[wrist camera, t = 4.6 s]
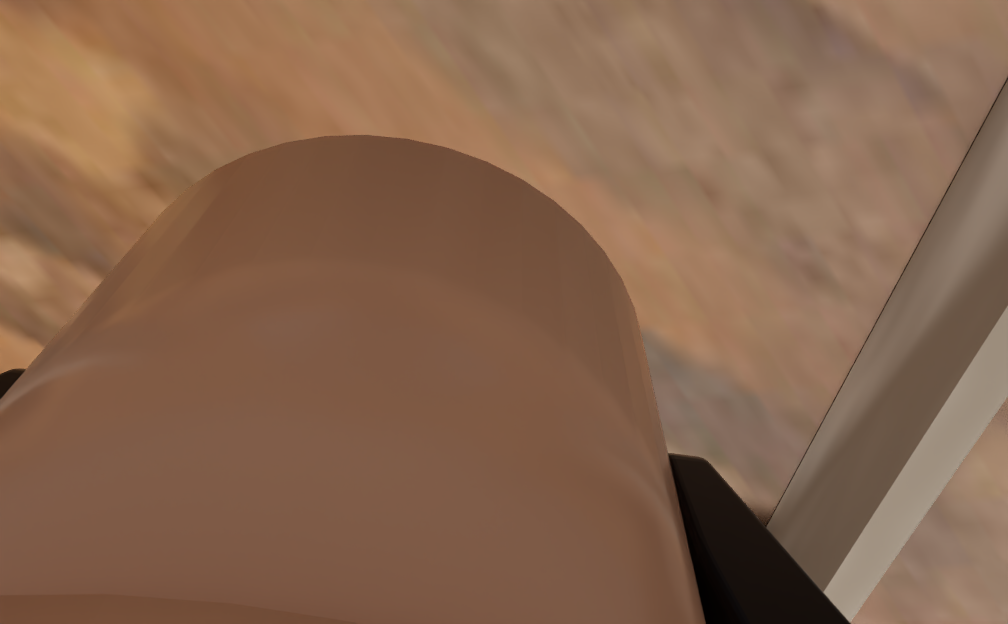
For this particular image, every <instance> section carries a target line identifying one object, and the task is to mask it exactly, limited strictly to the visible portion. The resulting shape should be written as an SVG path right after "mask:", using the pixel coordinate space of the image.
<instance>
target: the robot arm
mask: <svg viewBox="0 0 1008 624" xmlns="http://www.w3.org/2000/svg"><path fill="white" fill-rule="evenodd" d="M25 370H26V369H12V370H9V371H7V372H4V373H2V374H0V399H1V398H2V397H3V396H4V395H5V393H6V392H7V391H8V390H9V389H10V388H11V386H12V385H13V384H14V383H15V382H16V381H17V380H18V378H19V377H20V376H21V375H22V374H23V373H24V371H25ZM668 456H669V460H670V465H671V469H672V474H673V478H674V483H675V487H676V492H677V496H678V501H679V505H680V510H681V514H682V519H683V523H684V528H685V532H686V537H687V541H688V546H689V550H690V555H691V559H692V564H693V568H694V573H695V577H696V582H697V586H698V591H699V595H700V600H701V604H702V608H703V613H704V617H705V622H706V624H851V623H850V622H849V621H848V620H847V619H846V617H845V616H844V615H843V614H842V613H841V612H840V611H839V609H838V608H837V607H836V606H835V605H834V604H833V603H832V602H831V600H830V599H829V598H828V597H827V596H826V595H825V594H824V592H823V591H822V590H821V589H820V588H819V587H818V586H817V584H816V583H815V582H814V581H813V580H812V579H811V578H810V577H809V575H808V574H807V573H806V572H805V571H804V570H803V569H802V567H801V566H800V565H799V564H798V563H797V562H796V561H795V560H794V558H793V557H792V556H791V555H790V554H789V553H788V552H787V550H786V549H785V548H784V547H783V546H782V545H781V544H780V542H779V541H778V540H777V539H776V538H775V537H774V536H773V535H772V533H771V532H770V531H769V530H768V529H767V528H766V527H765V525H764V524H763V523H762V522H761V521H760V520H759V519H758V517H757V516H756V515H755V514H754V513H753V512H752V511H751V510H750V508H749V507H748V506H747V505H746V504H745V503H744V502H743V500H742V499H741V498H740V497H739V496H738V495H737V494H736V493H735V491H734V490H733V489H732V488H731V487H730V486H729V485H728V483H727V482H726V481H725V480H724V479H723V478H722V477H721V475H720V474H719V473H718V472H717V471H716V470H715V469H714V468H713V466H712V465H711V464H710V463H709V462H708V461H706V460H705V459H703V458H700V457H696V456H688V455H680V454H673V453H668Z"/></svg>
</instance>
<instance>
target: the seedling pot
mask: <svg viewBox="0 0 1008 624" xmlns="http://www.w3.org/2000/svg"><path fill="white" fill-rule="evenodd" d="M0 624H706V622H705V617H704V613H703V608H702V604H701V600H700V595H699V591H698V586H697V582H696V577H695V573H694V568H693V564H692V559H691V555H690V550H689V546H688V541H687V537H686V532H685V528H684V523H683V519H682V514H681V510H680V505H679V501H678V496H677V492H676V487H675V483H674V478H673V474H672V469H671V465H670V460H669V456H668V451H667V447H666V442H665V438H664V433H663V429H662V424H661V420H660V415H659V411H658V407H657V402H656V398H655V393H654V389H653V384H652V380H651V375H650V371H649V366H648V362H647V357H646V353H645V348H644V344H643V339H642V335H641V331H640V327H639V323H638V320H637V316H636V312H635V308H634V306H633V303H632V301H631V299H630V296H629V294H628V292H627V290H626V287H625V285H624V283H623V281H622V279H621V277H620V275H619V274H618V272H617V271H616V269H615V268H614V266H613V264H612V263H611V261H610V260H609V258H608V256H607V255H606V253H605V252H604V251H603V249H602V248H601V247H600V246H599V245H598V244H597V242H596V241H595V240H594V239H593V238H592V237H591V235H590V234H589V233H588V232H587V231H586V230H585V228H584V227H583V226H582V225H581V224H580V223H579V222H578V221H576V220H575V219H574V218H573V217H572V216H571V215H570V214H568V213H567V212H566V211H565V210H564V209H563V208H562V207H560V206H559V205H558V204H557V203H556V202H555V201H554V200H552V199H551V198H549V197H548V196H546V195H545V194H543V193H542V192H540V191H539V190H537V189H536V188H534V187H533V186H531V185H530V184H528V183H527V182H525V181H524V180H522V179H520V178H518V177H516V176H514V175H512V174H510V173H508V172H506V171H504V170H502V169H500V168H498V167H496V166H494V165H492V164H490V163H488V162H486V161H483V160H481V159H478V158H475V157H472V156H469V155H466V154H464V153H461V152H458V151H455V150H452V149H449V148H446V147H441V146H437V145H432V144H428V143H423V142H419V141H414V140H410V139H402V138H392V137H381V136H370V135H352V136H324V137H318V138H312V139H306V140H299V141H293V142H287V143H283V144H280V145H277V146H273V147H270V148H267V149H264V150H260V151H257V152H254V153H250V154H248V155H246V156H244V157H241V158H239V159H237V160H235V161H233V162H231V163H229V164H227V165H224V166H222V167H220V168H218V169H216V170H214V171H213V172H211V173H210V174H208V175H207V176H206V177H204V178H203V179H201V180H200V181H198V182H197V183H195V184H194V185H192V186H191V187H189V188H188V189H186V190H185V191H184V192H183V193H182V194H181V195H180V196H179V197H178V198H177V199H176V200H175V201H174V202H173V203H172V204H170V205H169V206H168V207H167V208H166V209H165V210H164V211H163V212H162V213H161V214H160V216H159V217H158V218H157V219H156V220H155V221H154V222H153V224H152V225H151V226H150V227H149V228H148V229H147V231H146V232H145V233H144V234H143V235H142V236H141V237H140V239H139V240H138V241H137V242H136V243H135V244H134V246H133V247H132V248H131V249H130V250H129V251H128V252H127V254H126V255H125V256H124V257H123V258H122V259H121V261H120V262H119V263H118V264H117V265H116V266H115V268H114V269H113V270H112V271H111V272H110V273H109V274H108V276H107V277H106V278H105V279H104V280H103V281H102V283H101V284H100V285H99V286H98V287H97V288H96V289H95V291H94V292H93V293H92V294H91V295H90V296H89V298H88V299H87V300H86V301H85V302H84V303H83V304H82V306H81V307H80V308H79V309H78V310H77V311H76V313H75V314H74V315H73V316H72V317H71V318H70V319H69V321H68V322H67V323H66V324H65V325H64V326H63V328H62V329H61V330H60V331H59V332H58V333H57V334H56V336H55V337H54V338H53V339H52V340H51V341H50V343H49V344H48V345H47V346H46V347H45V348H44V350H43V351H42V352H41V353H40V354H39V355H38V356H37V358H36V359H35V360H34V361H33V362H32V363H31V365H30V366H29V367H28V368H27V369H26V370H25V371H24V373H23V374H22V375H21V376H20V377H19V378H18V380H17V381H16V382H15V383H14V384H13V385H12V386H11V388H10V389H9V390H8V391H7V392H6V393H5V395H4V396H3V397H2V398H1V399H0Z"/></svg>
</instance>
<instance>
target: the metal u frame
mask: <svg viewBox="0 0 1008 624" xmlns="http://www.w3.org/2000/svg"><path fill="white" fill-rule="evenodd" d="M1007 397H1008V80H1007V82H1006V84H1005V86H1004V87H1003V89H1002V91H1001V93H1000V95H999V97H998V98H997V100H996V102H995V104H994V106H993V108H992V110H991V111H990V113H989V115H988V117H987V119H986V121H985V123H984V124H983V126H982V128H981V130H980V132H979V134H978V136H977V137H976V139H975V141H974V143H973V145H972V147H971V149H970V150H969V152H968V154H967V156H966V158H965V160H964V162H963V163H962V165H961V167H960V169H959V171H958V173H957V175H956V176H955V178H954V180H953V182H952V184H951V186H950V187H949V189H948V191H947V193H946V195H945V197H944V199H943V200H942V202H941V204H940V206H939V208H938V210H937V212H936V213H935V215H934V217H933V219H932V221H931V223H930V225H929V226H928V228H927V230H926V232H925V234H924V236H923V238H922V239H921V241H920V243H919V245H918V247H917V249H916V251H915V252H914V254H913V256H912V258H911V260H910V262H909V264H908V265H907V267H906V269H905V271H904V273H903V275H902V276H901V278H900V280H899V282H898V284H897V286H896V288H895V289H894V291H893V293H892V295H891V297H890V299H889V301H888V302H887V304H886V306H885V308H884V310H883V312H882V314H881V315H880V317H879V319H878V321H877V323H876V325H875V327H874V328H873V330H872V332H871V334H870V336H869V338H868V340H867V341H866V343H865V345H864V347H863V349H862V351H861V353H860V354H859V356H858V358H857V360H856V362H855V364H854V366H853V367H852V369H851V371H850V373H849V375H848V377H847V378H846V380H845V382H844V384H843V386H842V388H841V390H840V391H839V393H838V395H837V397H836V399H835V401H834V403H833V404H832V406H831V408H830V410H829V412H828V414H827V416H826V417H825V419H824V421H823V423H822V425H821V427H820V429H819V430H818V432H817V434H816V436H815V438H814V440H813V442H812V443H811V445H810V447H809V449H808V451H807V453H806V455H805V456H804V458H803V460H802V462H801V464H800V466H799V467H798V469H797V471H796V473H795V475H794V477H793V479H792V480H791V482H790V484H789V486H788V488H787V490H786V492H785V493H784V495H783V497H782V499H781V501H780V503H779V505H778V506H777V508H776V510H775V512H774V514H773V516H772V518H771V519H770V521H769V523H768V525H767V527H766V528H767V529H768V530H769V531H770V532H771V533H772V535H773V536H774V537H775V538H776V539H777V540H778V541H779V542H780V544H781V545H782V546H783V547H784V548H785V549H786V550H787V552H788V553H789V554H790V555H791V556H792V557H793V558H794V560H795V561H796V562H797V563H798V564H799V565H800V566H801V567H802V569H803V570H804V571H805V572H806V573H807V574H808V575H809V577H810V578H811V579H812V580H813V581H814V582H815V583H816V584H817V586H818V587H819V588H820V589H821V590H822V591H823V592H824V594H825V595H826V596H827V597H828V598H829V599H830V600H831V602H832V603H833V604H834V605H835V606H836V607H837V608H838V609H839V611H840V612H841V613H842V614H843V615H844V616H845V617H846V619H847V620H848V621H849V622H851V621H852V619H853V618H854V616H855V615H856V613H857V612H858V611H859V609H860V608H861V606H862V605H863V603H864V602H865V601H866V599H867V598H868V596H869V595H870V593H871V592H872V590H873V589H874V588H875V586H876V585H877V583H878V582H879V580H880V579H881V578H882V576H883V575H884V573H885V572H886V570H887V569H888V568H889V566H890V565H891V563H892V562H893V560H894V559H895V557H896V556H897V555H898V553H899V552H900V550H901V549H902V547H903V546H904V545H905V543H906V542H907V540H908V539H909V537H910V536H911V535H912V533H913V532H914V530H915V529H916V527H917V526H918V524H919V523H920V522H921V520H922V519H923V517H924V516H925V514H926V513H927V512H928V510H929V509H930V507H931V506H932V504H933V503H934V502H935V500H936V499H937V497H938V496H939V494H940V493H941V491H942V490H943V489H944V487H945V486H946V484H947V483H948V481H949V480H950V479H951V477H952V476H953V474H954V473H955V471H956V470H957V468H958V467H959V466H960V464H961V463H962V461H963V460H964V458H965V457H966V456H967V454H968V453H969V451H970V450H971V448H972V447H973V446H974V444H975V443H976V441H977V440H978V438H979V437H980V435H981V434H982V433H983V431H984V430H985V428H986V427H987V425H988V424H989V423H990V421H991V420H992V418H993V417H994V415H995V414H996V413H997V411H998V410H999V408H1000V407H1001V405H1002V404H1003V402H1004V401H1005V400H1006V398H1007Z"/></svg>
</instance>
